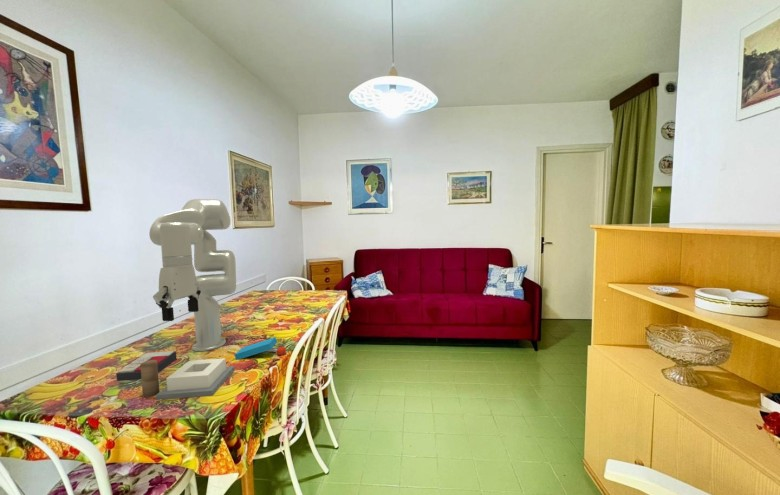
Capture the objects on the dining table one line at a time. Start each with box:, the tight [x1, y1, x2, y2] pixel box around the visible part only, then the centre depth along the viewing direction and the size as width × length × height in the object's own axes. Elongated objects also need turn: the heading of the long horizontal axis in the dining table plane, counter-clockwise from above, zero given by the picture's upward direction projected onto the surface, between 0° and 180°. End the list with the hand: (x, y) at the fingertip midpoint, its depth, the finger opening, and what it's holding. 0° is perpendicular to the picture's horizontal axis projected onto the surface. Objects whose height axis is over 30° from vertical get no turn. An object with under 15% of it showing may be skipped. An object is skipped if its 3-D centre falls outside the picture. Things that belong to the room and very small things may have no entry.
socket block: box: [155, 357, 235, 401], centre depth 95 cm, size 16×16×6 cm
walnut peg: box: [140, 360, 160, 398], centre depth 90 cm, size 4×4×10 cm
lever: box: [234, 337, 287, 361], centre depth 117 cm, size 7×7×18 cm
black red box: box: [115, 350, 178, 382], centre depth 107 cm, size 11×4×15 cm
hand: (181, 315), depth 91 cm, fingers open, 9 cm apart
